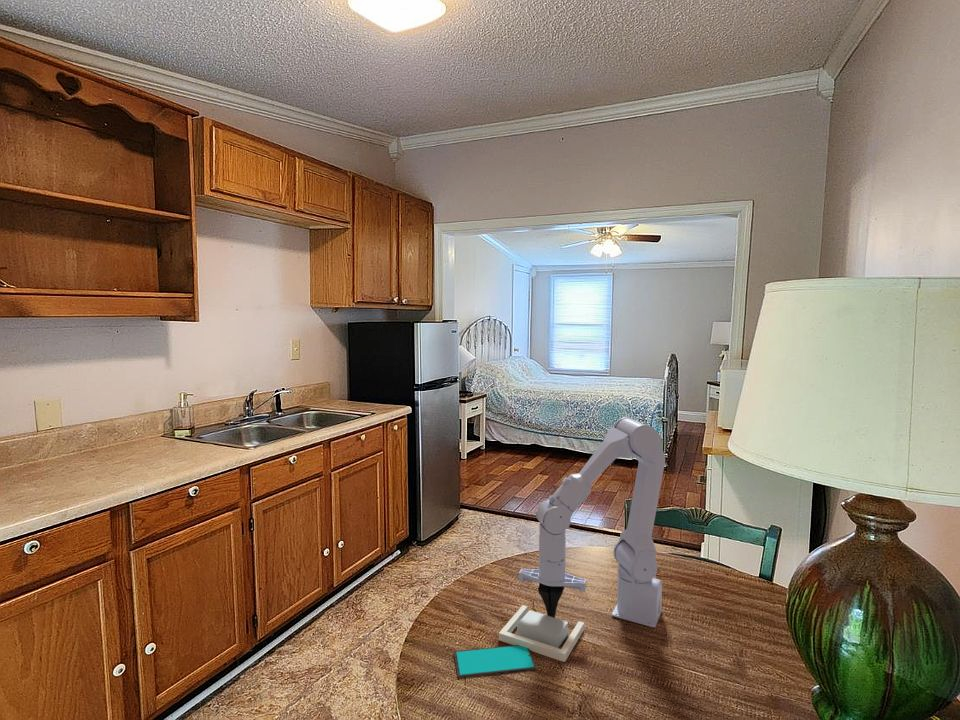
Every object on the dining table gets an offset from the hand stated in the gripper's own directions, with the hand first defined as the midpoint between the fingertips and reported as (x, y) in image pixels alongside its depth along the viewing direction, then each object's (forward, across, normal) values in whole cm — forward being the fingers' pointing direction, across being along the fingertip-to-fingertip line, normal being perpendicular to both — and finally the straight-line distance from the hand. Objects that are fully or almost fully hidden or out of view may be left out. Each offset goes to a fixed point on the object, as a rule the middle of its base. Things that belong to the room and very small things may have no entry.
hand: (551, 616), depth 116 cm
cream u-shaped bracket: (+1, +1, +5) cm, 5 cm away
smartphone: (+2, +8, +17) cm, 19 cm away
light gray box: (+2, +1, +5) cm, 6 cm away
